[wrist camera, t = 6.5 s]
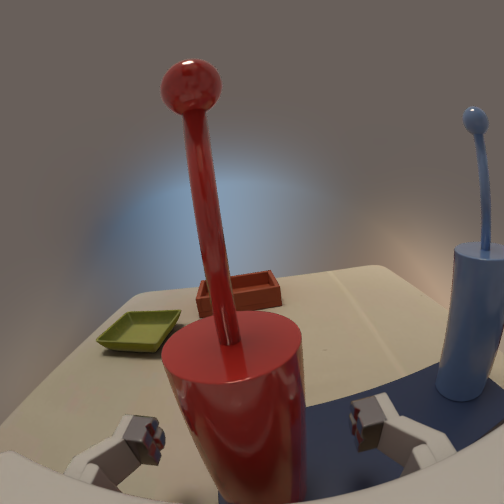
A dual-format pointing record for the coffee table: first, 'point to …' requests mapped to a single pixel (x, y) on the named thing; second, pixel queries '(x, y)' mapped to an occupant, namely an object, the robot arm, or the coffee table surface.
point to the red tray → (245, 293)
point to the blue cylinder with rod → (474, 294)
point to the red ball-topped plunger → (233, 341)
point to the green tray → (139, 331)
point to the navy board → (406, 404)
